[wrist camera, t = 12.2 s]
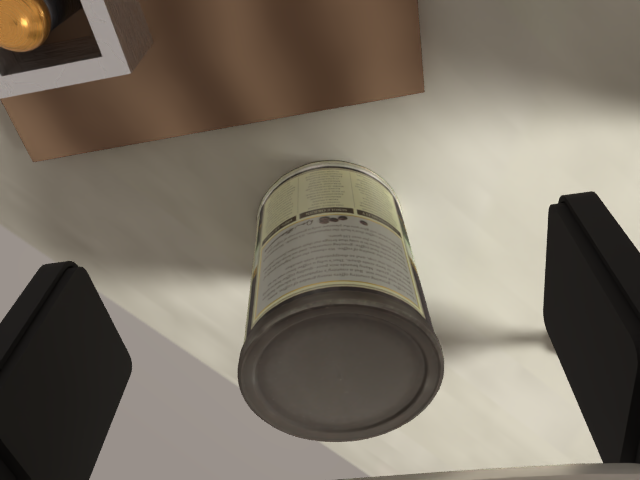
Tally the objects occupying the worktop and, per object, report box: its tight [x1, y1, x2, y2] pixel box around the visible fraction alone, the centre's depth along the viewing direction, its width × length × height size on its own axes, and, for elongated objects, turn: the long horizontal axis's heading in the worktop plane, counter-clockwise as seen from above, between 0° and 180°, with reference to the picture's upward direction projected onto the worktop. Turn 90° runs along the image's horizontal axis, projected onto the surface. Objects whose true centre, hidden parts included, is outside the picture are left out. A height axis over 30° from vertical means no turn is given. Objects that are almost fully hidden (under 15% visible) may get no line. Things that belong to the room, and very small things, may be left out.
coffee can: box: [238, 161, 444, 442], centre depth 34 cm, size 10×10×14 cm
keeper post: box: [0, 0, 83, 52], centre depth 27 cm, size 3×3×7 cm
